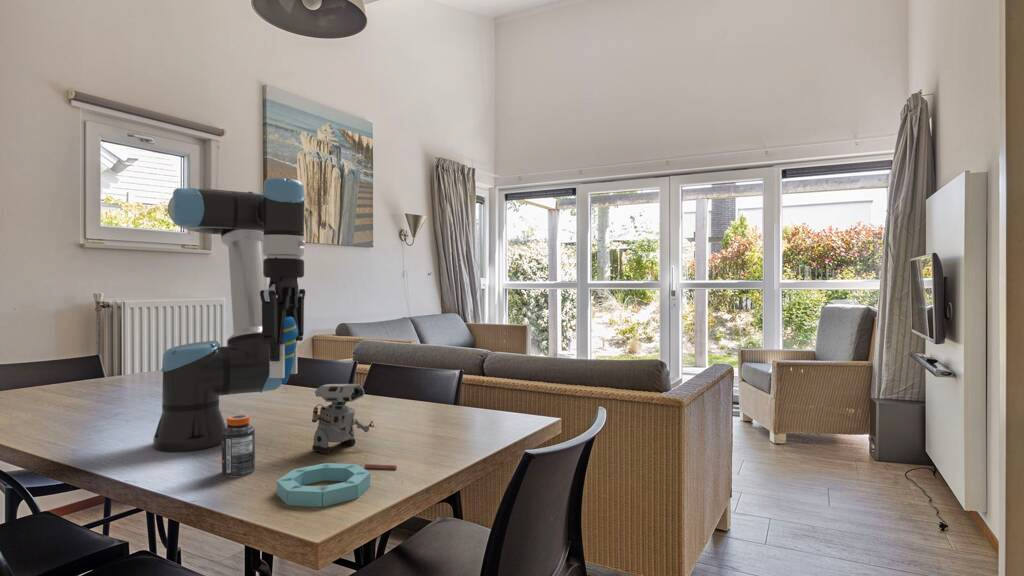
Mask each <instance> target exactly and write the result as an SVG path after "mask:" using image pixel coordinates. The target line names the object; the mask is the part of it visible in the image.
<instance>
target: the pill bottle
mask: <svg viewBox="0 0 1024 576" xmlns="http://www.w3.org/2000/svg"><path fill="white" fill-rule="evenodd" d="M255 433H256V431H255V428H254V426H253V425H250V415H249V414H235V415H230V416H228V417H227V418H226V428H225V429H224V430H223V431H222V443H221V474H222V476H223V477H226V478H238V477H239V478H240V477H246V476H248V475H251V474H252V473H254V472H255V471H256V470H255V469H256V438H255V435H256V434H255Z"/></svg>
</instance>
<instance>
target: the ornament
mask: <svg viewBox="0 0 1024 576" xmlns="http://www.w3.org/2000/svg"><path fill="white" fill-rule="evenodd" d="M297 334H298V329H297V325H296V323H295V321H294V318H293V317H290V316H286V313H285V320H284V331H283V339H282V344H285V378H281V381H282V384H283V385H286V384H287V383H288V380H289V379H290V375H291V374H290V373H291V370H292V365H293V362H294V351H295V348H296V344H297V343H296V337H297Z"/></svg>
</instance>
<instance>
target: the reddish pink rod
mask: <svg viewBox="0 0 1024 576" xmlns="http://www.w3.org/2000/svg"><path fill="white" fill-rule="evenodd" d="M363 467H364V469H378V470H397V468H398V465H396V464H377V463H376V464H373V463H365V464H364V466H363Z"/></svg>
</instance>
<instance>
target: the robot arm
mask: <svg viewBox="0 0 1024 576" xmlns="http://www.w3.org/2000/svg"><path fill="white" fill-rule="evenodd" d="M262 189H263V190H262V193H259V192H253V191H247V192H244V191H237V190H224V189H211V188H194V187H193V188H192V187H189V188H187V187H186V188H184V187H183V188H182V187H178V188H175V189H174V190H173V192H172V197H171V198H170V199H169V201H168V203H167V213H168V216H169V218H170V220H171V221H172V223H174V225H176V226H178V227H180V228H182V229H185V230H188V231H191V232H195V233H199V234H200V233H201V234H208V235H209V234H210V235H220V240H221V242H222V244H223V245H225V247H227V248H228V259H229V260H228V261H229V262H228V263H229V281H230V294H231V295H230V296H231V298H230V299H231V311H232V312H231V313H232V331H233V333H232V334H231V336H229V337H228V339H227V342H226V346H221V344H220V343H219V341H217V340H209V341H206V340H205V341H198V342H191V343H186V344H181V345H177V346H173V347H171V348H168V349H166V350H165V351H164V353H163V355H162V362H161V364H162V365H161V369H160V371H161V373H162V387H161V388H162V391H161V392H162V393H161V394H162V395H161V396H162V397H161V398H162V399H161V405H162V406H161V407H162V409H161V416H160V418H159V421H158V423H157V427H156V429H155V430H156V431H155V434H154V435H153V439H152V440H153V443H152V444H153V446H152V448H153V449H154V450H156V451H158V452H167V453H169V452H170V453H171V452H172V453H177V452H178V453H179V452H180V453H181V452H188V451H189V452H192V451H198V450H203V449H208V448H212V447H216V446H219V445H222V431H223V430H224V429H225V428H226V427H227V425H226V423H225V421H224V418H223V415H222V412H221V409H220V397H221V396H230V395H239V394H241V395H242V394H249V393H264V392H268V391H275V390H278V388H280V387H281V385H282V384H283V383H282V381H281V378H285V344H282V339H283V331H284V320H285V313H286V316H290V317H293V318H294V321H295V323H296V325H297V329H298V334H297V337H296V343H297V344H296V348H295V351H294V362H293V365H292V370H291V373H290V375H296V374H298V346H299V345H298V342H299V341H300V342H302V341H303V339H304V334H305V333H304V332H305V331H304V330H305V329H304V328H305V327H304V326H305V325H304V324H305V320H304V319H305V310H304V309H305V297H306V290H305V289H304V288H299V283H298V278H299V279H300V278H304V276H305V261H304V259H303V258H302V257H303V256H304V255H305V245H306V241H305V201H306V197H305V190H304V189H305V187H304V183H302V181H300V180H298V179H294V178H287V177H269V178H266V179H265V180H264V182H263V188H262ZM301 258H302V259H301ZM267 278H268V279H269V283H268V281H267ZM267 283H268V284H267Z"/></svg>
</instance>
